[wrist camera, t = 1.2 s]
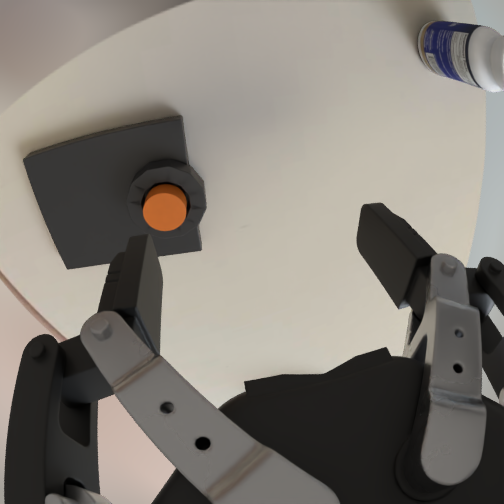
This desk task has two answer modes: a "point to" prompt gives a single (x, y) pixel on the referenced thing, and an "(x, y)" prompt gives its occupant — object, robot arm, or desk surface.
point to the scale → (115, 190)
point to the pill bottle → (464, 53)
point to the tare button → (165, 207)
